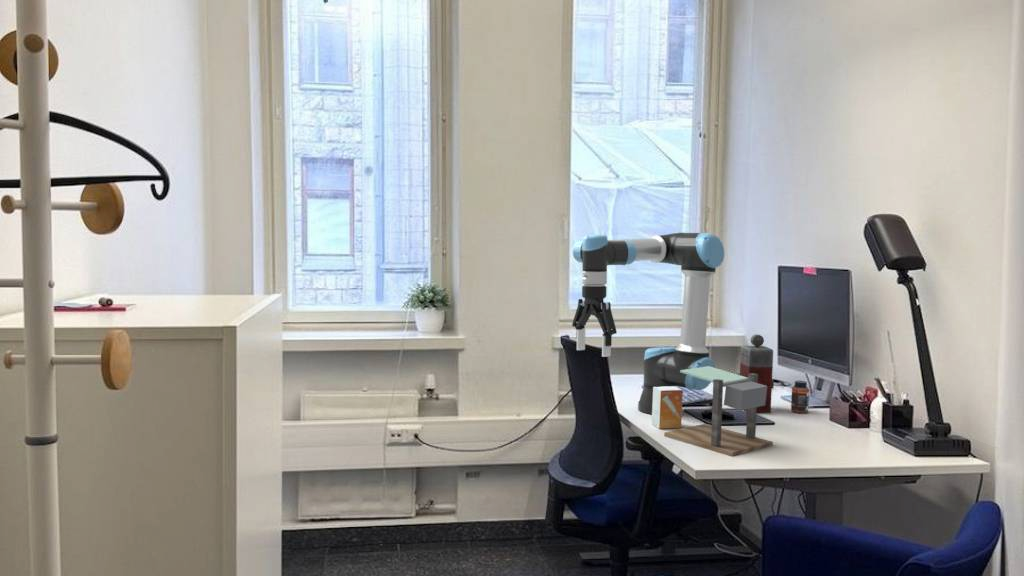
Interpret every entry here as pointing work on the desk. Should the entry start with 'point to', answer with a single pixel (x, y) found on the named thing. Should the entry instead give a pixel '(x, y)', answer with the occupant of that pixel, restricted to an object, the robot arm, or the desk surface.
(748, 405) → the trapdoor
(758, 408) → the red and grey canister
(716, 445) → the frame
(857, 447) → the desk surface
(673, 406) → the small box
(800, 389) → the supplement bottle
